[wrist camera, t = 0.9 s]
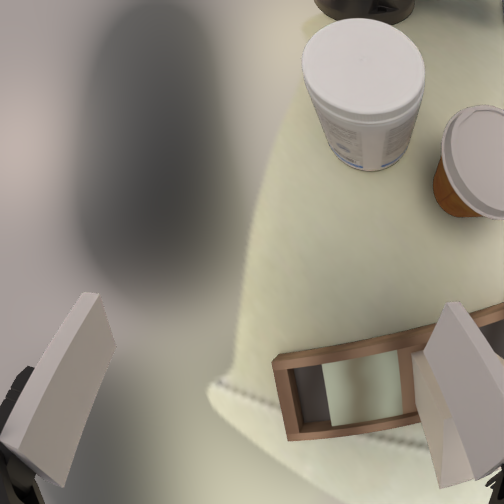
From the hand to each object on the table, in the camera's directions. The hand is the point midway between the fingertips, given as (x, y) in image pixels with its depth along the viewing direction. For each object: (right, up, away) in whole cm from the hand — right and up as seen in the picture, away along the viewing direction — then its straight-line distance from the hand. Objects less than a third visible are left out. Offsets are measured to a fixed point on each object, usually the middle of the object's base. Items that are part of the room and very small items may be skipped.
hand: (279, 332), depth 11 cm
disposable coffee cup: (+21, +10, +18) cm, 29 cm away
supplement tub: (+12, +16, +21) cm, 29 cm away
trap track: (+16, -10, +19) cm, 27 cm away
